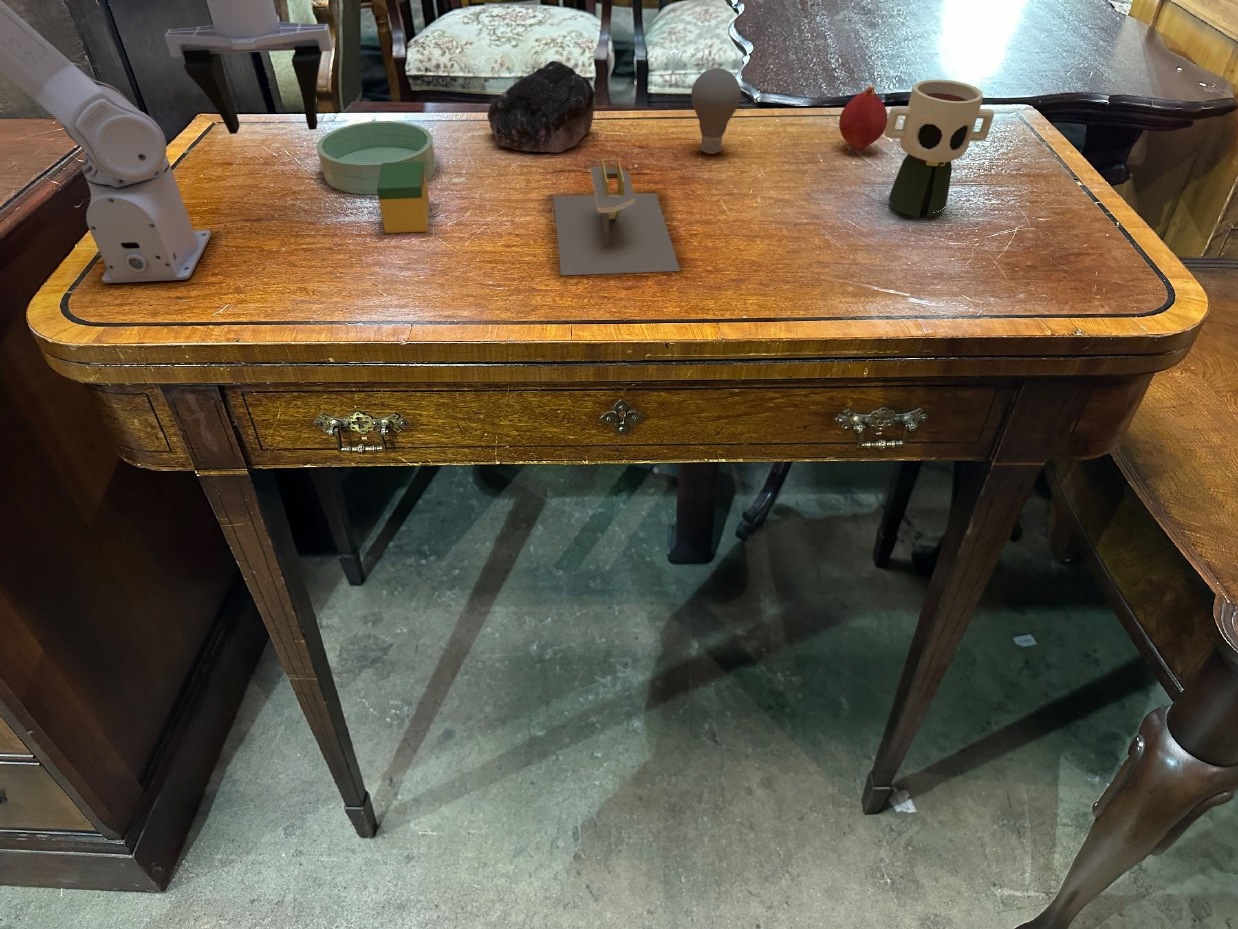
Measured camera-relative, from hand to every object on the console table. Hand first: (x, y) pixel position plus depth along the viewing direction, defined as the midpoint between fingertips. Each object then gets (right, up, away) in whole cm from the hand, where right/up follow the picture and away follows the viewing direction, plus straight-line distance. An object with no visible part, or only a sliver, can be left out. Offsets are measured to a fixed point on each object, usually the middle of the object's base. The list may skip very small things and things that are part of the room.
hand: (274, 128), depth 83 cm
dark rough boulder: (+25, +8, +24) cm, 36 cm away
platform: (+34, -9, +5) cm, 36 cm away
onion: (+66, +6, +22) cm, 70 cm away
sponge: (+12, -7, +6) cm, 15 cm away
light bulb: (+47, +5, +21) cm, 52 cm away
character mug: (+69, -5, +10) cm, 70 cm away
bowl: (+6, +1, +15) cm, 17 cm away
